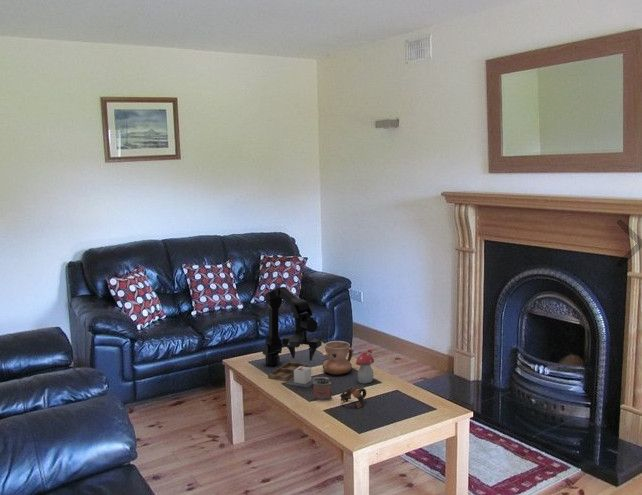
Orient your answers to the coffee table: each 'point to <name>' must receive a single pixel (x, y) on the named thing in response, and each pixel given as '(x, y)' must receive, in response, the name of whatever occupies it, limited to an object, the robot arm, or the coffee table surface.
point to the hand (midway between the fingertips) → (302, 359)
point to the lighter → (322, 389)
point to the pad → (302, 384)
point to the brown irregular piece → (356, 394)
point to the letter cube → (302, 375)
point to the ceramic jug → (337, 357)
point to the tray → (285, 371)
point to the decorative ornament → (365, 367)
